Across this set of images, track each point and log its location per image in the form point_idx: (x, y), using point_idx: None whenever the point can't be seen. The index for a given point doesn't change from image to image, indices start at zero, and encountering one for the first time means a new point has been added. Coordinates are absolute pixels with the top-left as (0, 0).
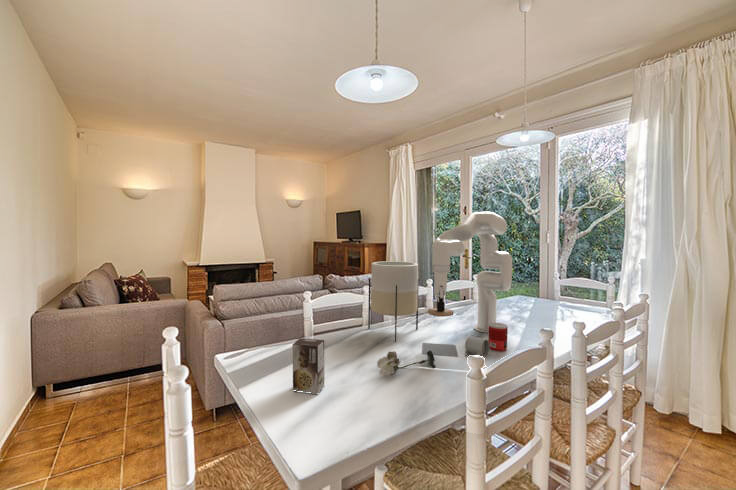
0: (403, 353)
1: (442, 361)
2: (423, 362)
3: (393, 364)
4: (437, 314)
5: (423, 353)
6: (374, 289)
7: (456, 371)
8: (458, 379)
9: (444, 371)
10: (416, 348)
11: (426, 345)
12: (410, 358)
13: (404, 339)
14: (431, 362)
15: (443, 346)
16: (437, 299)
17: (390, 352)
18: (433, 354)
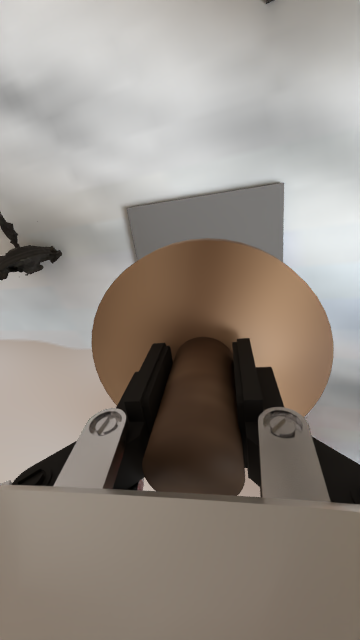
0: (120, 112)
1: (106, 290)
2: (9, 235)
3: None
4: (94, 339)
5: (137, 213)
6: None
7: (51, 332)
8: (6, 336)
9: (33, 300)
10: (208, 164)
11: (245, 210)
12: (79, 163)
13: (352, 43)
14: (9, 265)
15: None
16: (178, 425)
17: None
18: (142, 255)
